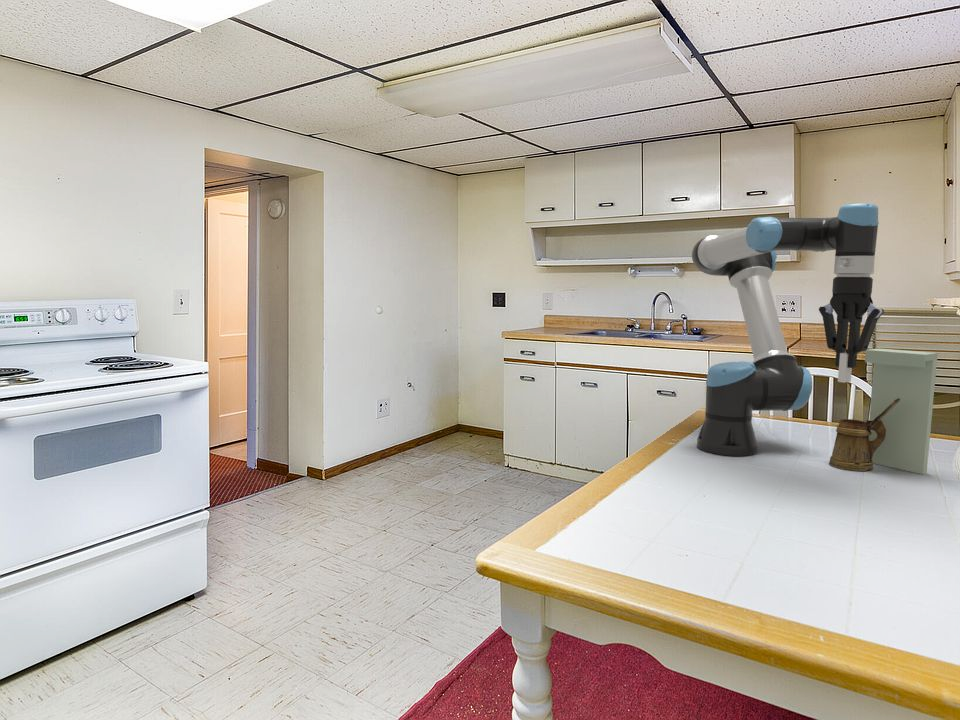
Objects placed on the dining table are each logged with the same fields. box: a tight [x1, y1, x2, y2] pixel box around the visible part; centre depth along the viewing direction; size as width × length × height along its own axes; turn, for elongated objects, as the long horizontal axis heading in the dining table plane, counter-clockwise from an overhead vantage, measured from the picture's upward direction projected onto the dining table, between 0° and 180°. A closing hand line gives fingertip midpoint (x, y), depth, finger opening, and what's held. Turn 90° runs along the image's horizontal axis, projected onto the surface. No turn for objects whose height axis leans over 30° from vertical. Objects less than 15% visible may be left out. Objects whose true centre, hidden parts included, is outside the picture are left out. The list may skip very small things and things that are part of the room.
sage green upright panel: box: [864, 348, 939, 475], centre depth 147 cm, size 12×6×28 cm, turn 33°
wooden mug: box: [828, 398, 900, 472], centre depth 148 cm, size 9×14×18 cm, turn 51°
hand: (844, 381), depth 139 cm, fingers closed
